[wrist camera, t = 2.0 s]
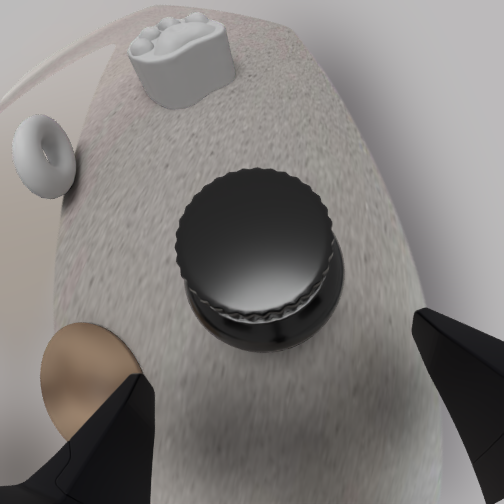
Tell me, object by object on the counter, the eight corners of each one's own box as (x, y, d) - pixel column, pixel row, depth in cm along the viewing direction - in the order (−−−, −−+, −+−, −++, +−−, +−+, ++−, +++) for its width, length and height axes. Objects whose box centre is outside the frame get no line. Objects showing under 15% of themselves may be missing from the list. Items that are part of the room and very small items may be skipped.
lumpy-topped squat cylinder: (174, 118, 27) (146, 56, 19) (133, 85, 32) (109, 40, 24) (247, 74, 29) (236, 14, 21) (192, 50, 33) (178, 5, 25)
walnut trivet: (172, 450, 16) (168, 453, 15) (69, 458, 16) (64, 460, 15) (123, 305, 20) (118, 303, 20) (36, 341, 20) (30, 341, 19)
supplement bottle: (205, 294, 20) (112, 222, 9) (279, 237, 21) (266, 113, 10) (264, 371, 18) (227, 403, 6) (342, 307, 18) (413, 242, 7)
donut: (63, 157, 28) (20, 109, 19) (83, 144, 28) (41, 92, 19) (57, 220, 25) (-5, 172, 15) (79, 207, 25) (18, 153, 15)
